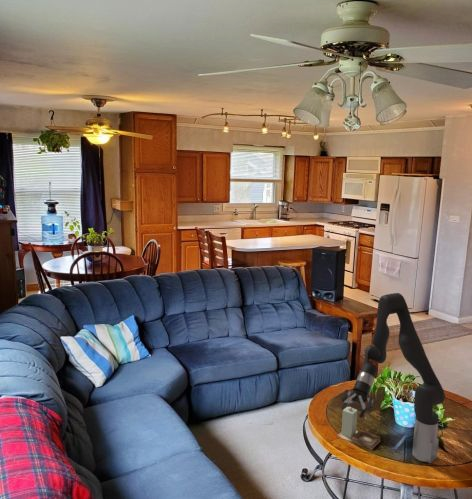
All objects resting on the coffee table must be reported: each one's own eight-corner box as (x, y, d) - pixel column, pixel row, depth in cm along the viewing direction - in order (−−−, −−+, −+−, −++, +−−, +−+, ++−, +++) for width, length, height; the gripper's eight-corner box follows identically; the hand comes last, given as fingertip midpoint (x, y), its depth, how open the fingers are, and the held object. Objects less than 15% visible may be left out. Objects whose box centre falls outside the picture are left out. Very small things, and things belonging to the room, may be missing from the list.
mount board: (380, 442, 208) (380, 436, 207) (371, 452, 200) (371, 446, 200) (346, 429, 219) (346, 423, 218) (336, 438, 211) (337, 432, 211)
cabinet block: (355, 433, 213) (357, 407, 211) (351, 438, 209) (352, 411, 207) (346, 429, 216) (347, 404, 214) (341, 434, 212) (342, 407, 210)
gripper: (348, 375, 222) (335, 406, 215) (376, 384, 213) (364, 416, 206) (352, 382, 227) (340, 412, 220) (379, 391, 218) (368, 423, 211)
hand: (351, 414), depth 213 cm, fingers open, 8 cm apart
